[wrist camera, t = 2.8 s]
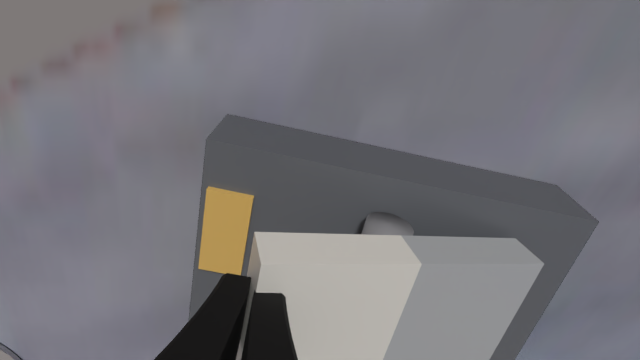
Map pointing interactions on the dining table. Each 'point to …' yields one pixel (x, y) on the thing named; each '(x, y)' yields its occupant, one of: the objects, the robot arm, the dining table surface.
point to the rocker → (392, 291)
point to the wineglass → (7, 354)
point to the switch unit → (372, 205)
